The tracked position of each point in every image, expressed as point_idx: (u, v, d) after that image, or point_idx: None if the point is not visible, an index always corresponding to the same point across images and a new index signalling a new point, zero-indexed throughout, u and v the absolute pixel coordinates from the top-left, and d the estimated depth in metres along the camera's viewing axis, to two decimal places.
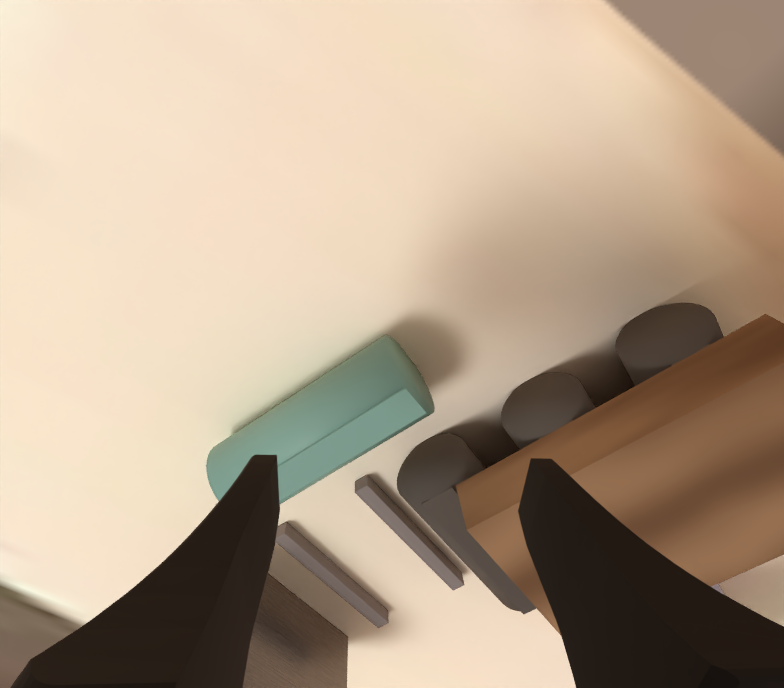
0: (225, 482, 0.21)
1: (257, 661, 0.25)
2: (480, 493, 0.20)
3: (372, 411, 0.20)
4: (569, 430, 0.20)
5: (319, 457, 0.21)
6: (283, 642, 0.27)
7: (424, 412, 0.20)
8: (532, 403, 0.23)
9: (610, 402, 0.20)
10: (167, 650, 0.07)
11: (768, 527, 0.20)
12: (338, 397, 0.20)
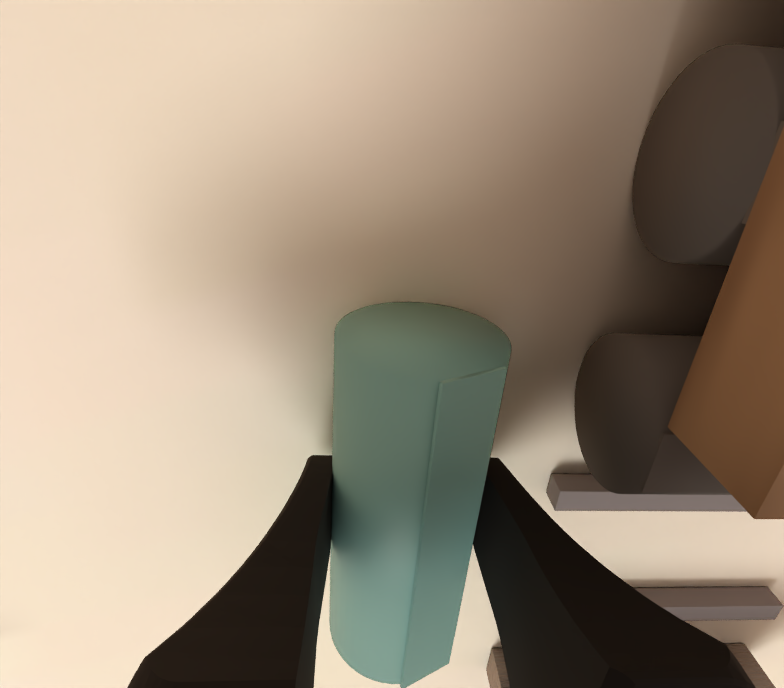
0: (381, 665, 0.13)
1: None
2: (720, 419, 0.09)
3: (437, 452, 0.10)
4: None
5: (443, 552, 0.12)
6: None
7: (503, 371, 0.10)
8: (676, 175, 0.10)
9: None
10: (276, 648, 0.07)
11: None
12: (377, 478, 0.11)
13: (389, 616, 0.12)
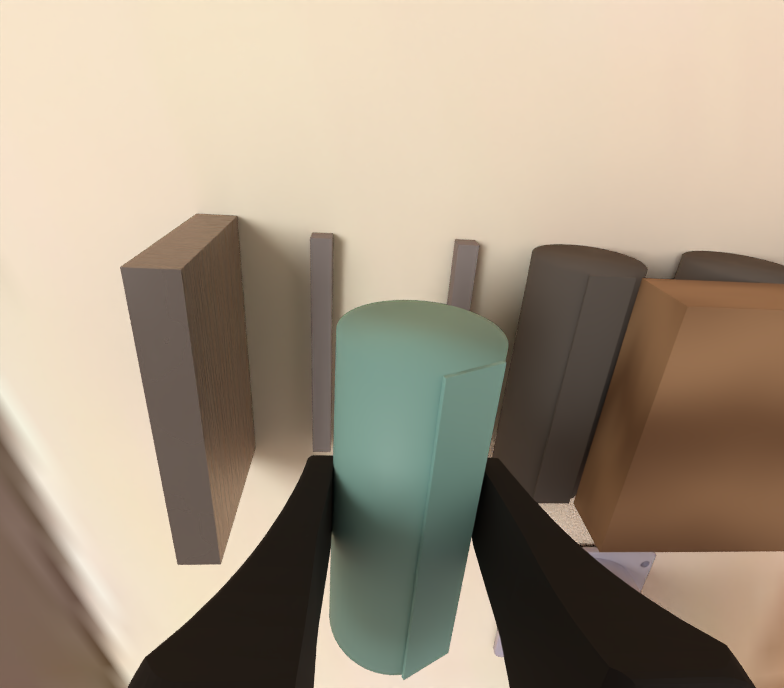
0: (383, 657, 0.14)
1: (211, 359, 0.16)
2: (691, 291, 0.15)
3: (440, 445, 0.10)
4: None
5: (443, 543, 0.12)
6: (228, 376, 0.18)
7: (503, 365, 0.10)
8: (728, 263, 0.19)
9: None
10: (276, 648, 0.07)
11: None
12: (380, 472, 0.11)
13: (391, 608, 0.13)
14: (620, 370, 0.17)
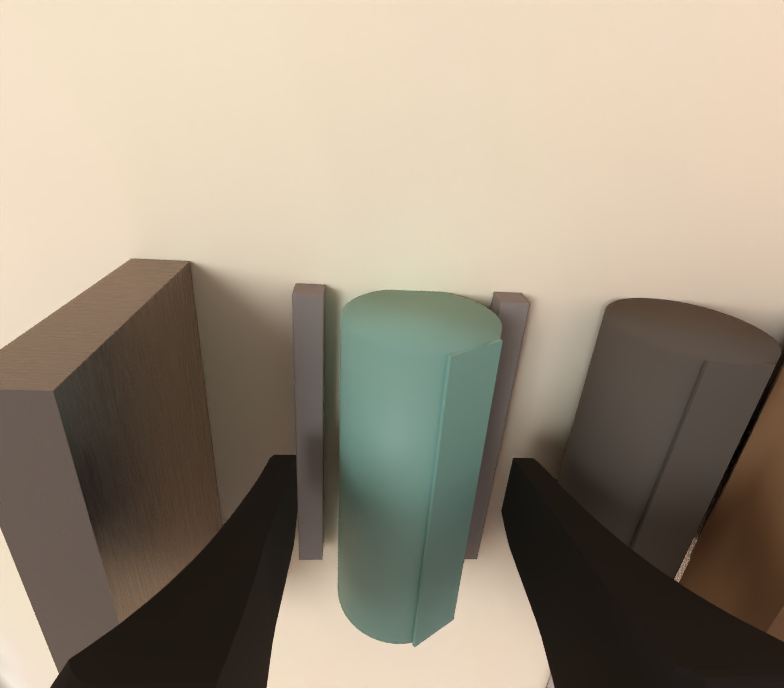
0: (394, 627, 0.14)
1: (136, 492, 0.10)
2: None
3: (446, 420, 0.11)
4: None
5: (449, 513, 0.13)
6: (174, 492, 0.13)
7: (499, 343, 0.11)
8: None
9: None
10: (204, 650, 0.07)
11: None
12: (390, 449, 0.12)
13: (402, 579, 0.14)
14: (738, 491, 0.12)
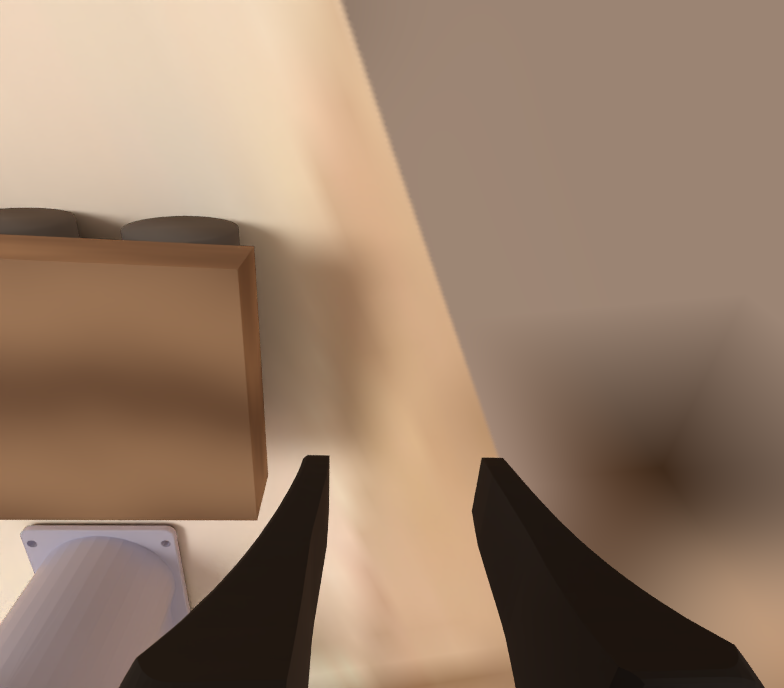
0: None
1: None
2: None
3: None
4: None
5: None
6: None
7: None
8: (5, 217, 0.18)
9: (47, 237, 0.16)
10: (267, 648, 0.07)
11: (144, 476, 0.17)
12: None
13: None
14: None
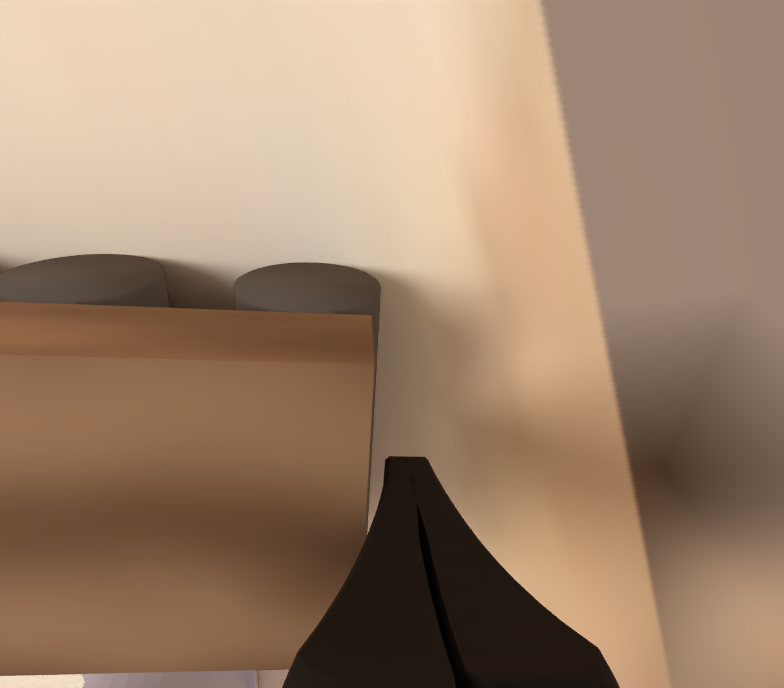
0: None
1: None
2: None
3: None
4: None
5: None
6: None
7: None
8: (75, 271, 0.13)
9: (87, 306, 0.11)
10: (420, 645, 0.07)
11: (213, 622, 0.13)
12: None
13: None
14: None
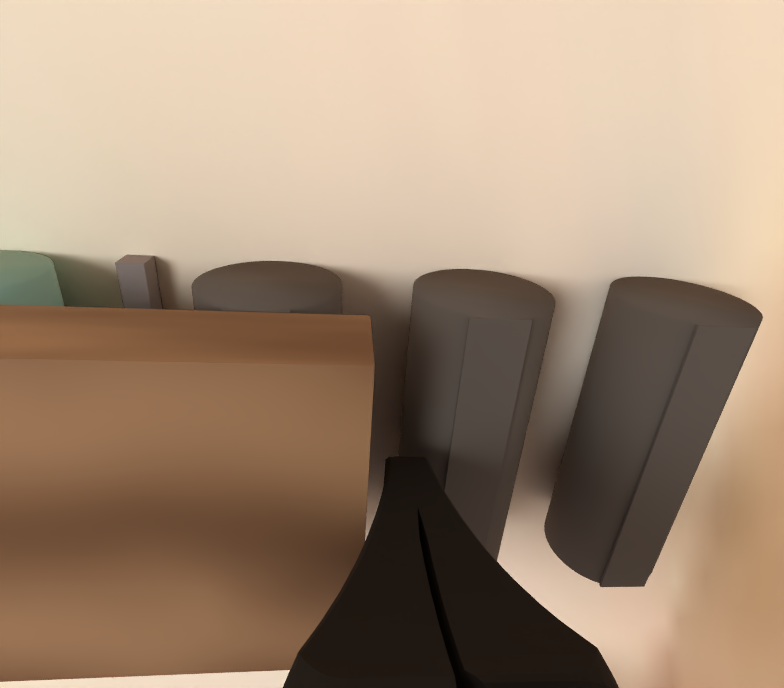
0: None
1: None
2: None
3: None
4: None
5: None
6: None
7: None
8: (470, 287, 0.14)
9: (82, 309, 0.11)
10: (421, 646, 0.07)
11: (213, 624, 0.13)
12: None
13: None
14: None
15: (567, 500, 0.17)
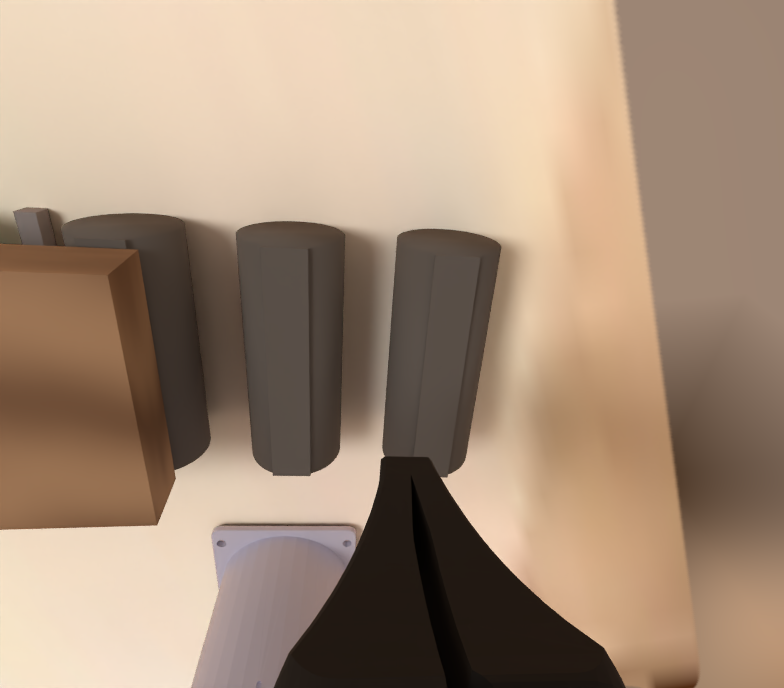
0: None
1: None
2: None
3: None
4: None
5: None
6: None
7: None
8: (284, 231, 0.19)
9: None
10: (412, 645, 0.07)
11: (32, 484, 0.17)
12: None
13: None
14: None
15: (387, 409, 0.22)
